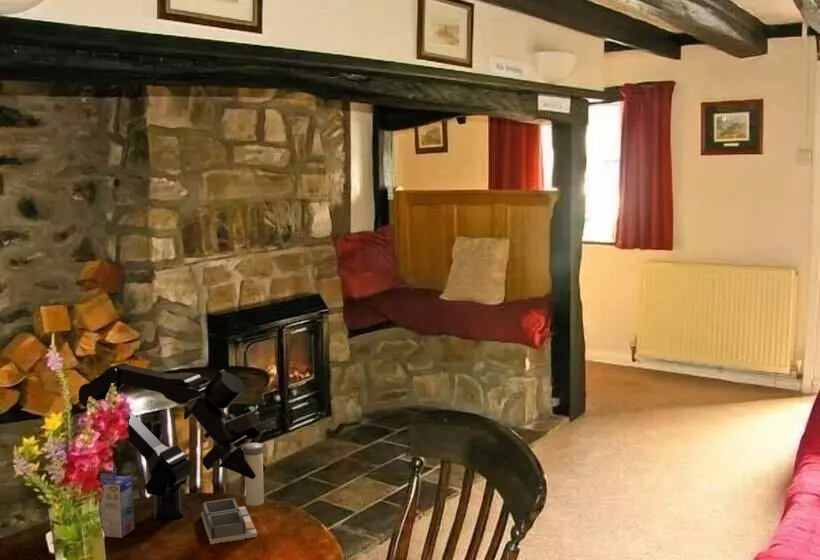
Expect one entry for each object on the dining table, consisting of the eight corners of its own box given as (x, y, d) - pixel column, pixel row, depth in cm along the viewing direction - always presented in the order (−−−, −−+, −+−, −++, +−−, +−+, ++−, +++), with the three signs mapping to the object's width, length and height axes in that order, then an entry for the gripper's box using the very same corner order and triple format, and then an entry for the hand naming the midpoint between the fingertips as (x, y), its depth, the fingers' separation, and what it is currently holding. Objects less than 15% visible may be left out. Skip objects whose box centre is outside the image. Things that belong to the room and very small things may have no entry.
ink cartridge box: (136, 528, 191) (132, 465, 189) (123, 539, 186) (119, 474, 184) (96, 525, 193) (92, 463, 191) (82, 535, 188) (77, 472, 186)
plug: (244, 499, 191) (243, 443, 190) (263, 497, 192) (261, 442, 191) (245, 506, 187) (244, 449, 186) (264, 504, 188) (263, 447, 187)
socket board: (201, 516, 197) (200, 502, 196) (245, 510, 200) (244, 496, 200) (210, 544, 183) (209, 528, 182) (257, 536, 186) (256, 521, 186)
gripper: (212, 409, 179) (260, 466, 177) (257, 387, 197) (301, 439, 195) (181, 442, 183) (228, 498, 181) (228, 417, 200) (271, 468, 198)
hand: (259, 474), depth 189 cm, fingers closed on plug, 4 cm apart
